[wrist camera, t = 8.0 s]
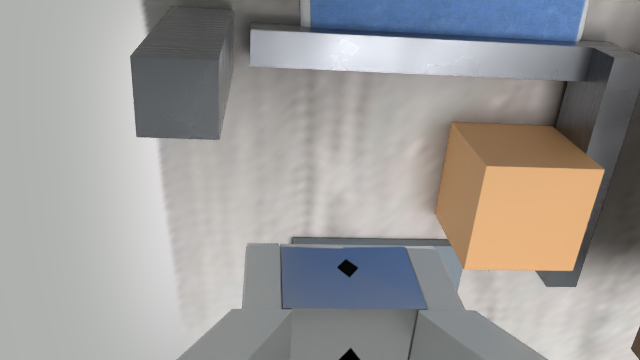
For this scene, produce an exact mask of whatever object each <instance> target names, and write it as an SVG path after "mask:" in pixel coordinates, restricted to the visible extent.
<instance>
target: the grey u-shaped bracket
mask: <svg viewBox="0 0 640 360" xmlns="http://www.w3.org/2000/svg"><path fill="white" fill-rule="evenodd" d="M130 58H131V71H132V84H133V97H134V110H135V123H136V136H137V137H151V138H182V139H213V140H219V139H220V134H221V129H222V124H223V119H224V113H225V108H226V103H227V98H228V93H229V88H230V83H231V78H232V73H233V10H228V9H210V8H192V7H174V6H172V7H171V8H170V9H169V10H168V12H167V13H166V14H165V15H164V16H163V18H162V19H161V20H160V21H159V22H158V24H157V25H156V26H155V27H154V28H153V30H152V31H151V32H150V33H149V34H148V36H147V37H146V38H145V39H144V40H143V42H142V43H141V44H140V45H139V46H138V48H137V49H136V50H135V51H134V52H133V54H132V55H131V56H130ZM250 66H251V67H273V68H295V69H317V70H339V71H361V72H383V73H405V74H427V75H449V76H471V77H492V78H514V79H536V80H558V81H568V83H567V87H566V90H565V94H564V98H563V102H562V105H561V109H560V113H559V117H558V120H557V124H556V128H555V129H556V130H558V131H559V132H560V133H561V134H562V135H564V136H565V137H566V138H567V139H568V140H570V141H571V142H572V143H573V144H575V145H576V146H577V147H578V148H579V149H581V150H582V151H583V152H584V153H585V154H587V155H588V156H589V157H590V158H591V159H593V160H594V161H595V162H596V163H598V164H599V165H600V166H601V167H602V168H604V169H605V171H604V174H603V177H602V180H601V183H600V187H599V190H598V193H597V196H596V199H595V202H594V205H593V209H592V212H591V215H590V218H589V221H588V224H587V227H586V231H585V234H584V237H583V240H582V243H581V246H580V249H579V253H578V256H577V259H576V262H575V265H574V268H573V271H541V270H535V271H536V272H537V274H538V275H539V277H540V278H541V279H542V281H543V282H544V284H545V285H546V287H576V285H577V282H578V279H579V276H580V273H581V270H582V267H583V263H584V260H585V257H586V254H587V251H588V248H589V245H590V242H591V239H592V236H593V233H594V230H595V227H596V224H597V221H598V218H599V214H600V211H601V208H602V205H603V202H604V199H605V196H606V193H607V190H608V187H609V184H610V181H611V178H612V175H613V172H614V169H615V165H616V162H617V159H618V156H619V153H620V150H621V147H622V144H623V141H624V138H625V135H626V132H627V129H628V126H629V123H630V120H631V116H632V113H633V110H634V107H635V104H636V101H637V98H638V95H639V92H640V55H639V54H636V53H634V52H632V51H630V50H627V49H625V48H623V47H620V46H618V45H616V44H614V43H611V42H599V41H576V42H573V41H554V40H536V39H517V38H499V37H480V36H462V35H444V34H425V33H407V32H388V31H369V30H351V29H332V28H313V27H305V26H298V25H280V24H261V23H251V33H250Z"/></svg>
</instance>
